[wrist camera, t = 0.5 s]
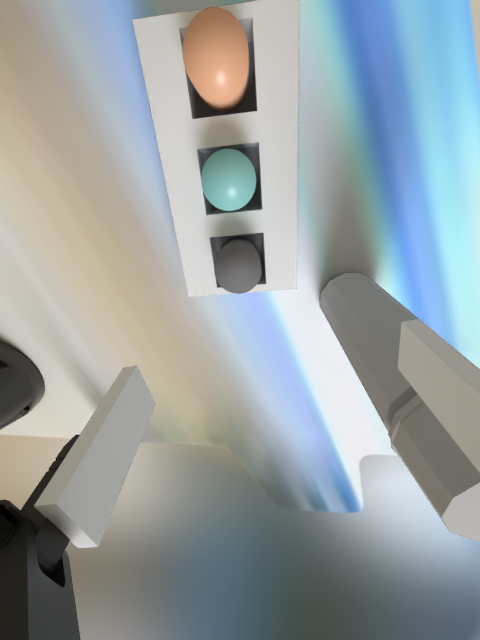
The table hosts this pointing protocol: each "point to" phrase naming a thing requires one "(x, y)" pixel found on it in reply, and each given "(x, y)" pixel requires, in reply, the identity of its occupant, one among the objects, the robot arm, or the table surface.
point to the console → (229, 142)
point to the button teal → (228, 179)
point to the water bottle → (402, 398)
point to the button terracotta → (217, 58)
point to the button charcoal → (238, 265)
